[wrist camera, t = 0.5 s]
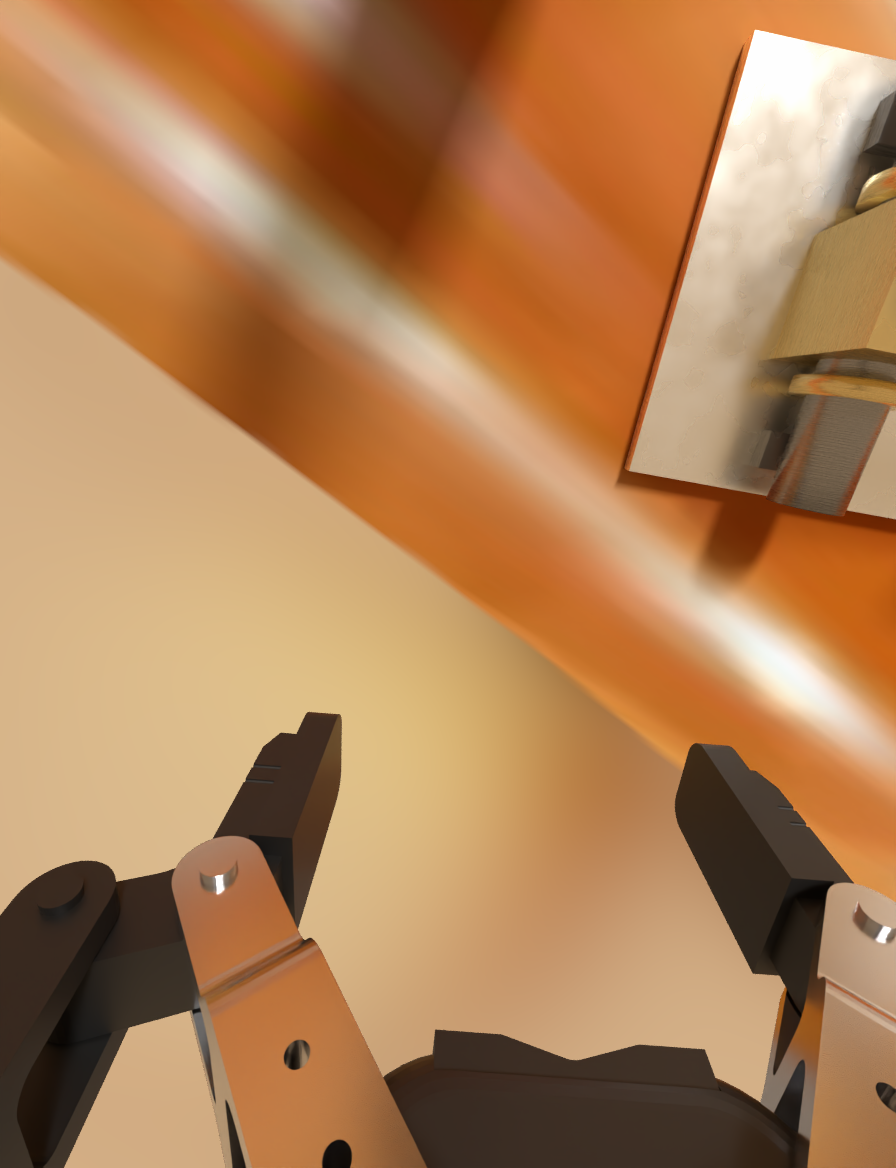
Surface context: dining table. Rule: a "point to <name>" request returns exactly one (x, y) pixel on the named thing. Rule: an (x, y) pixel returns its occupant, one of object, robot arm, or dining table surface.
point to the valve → (787, 292)
